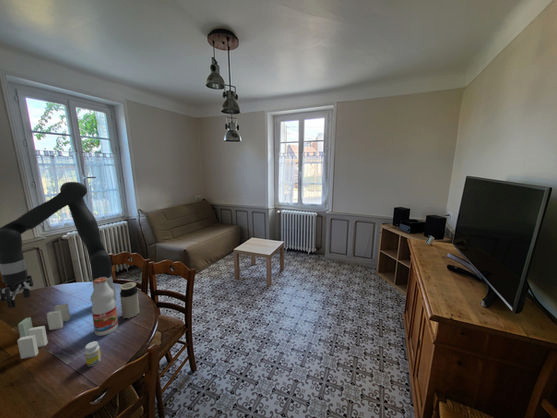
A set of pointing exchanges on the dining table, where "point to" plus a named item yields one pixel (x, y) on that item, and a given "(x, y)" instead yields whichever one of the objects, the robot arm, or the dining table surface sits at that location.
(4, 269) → the robot arm
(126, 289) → the travel mug
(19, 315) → the dining table surface
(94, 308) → the fruit juice
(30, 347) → the domino
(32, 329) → the domino
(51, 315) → the domino
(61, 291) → the dining table surface
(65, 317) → the domino
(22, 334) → the domino
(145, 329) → the dining table surface
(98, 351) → the supplement bottle
